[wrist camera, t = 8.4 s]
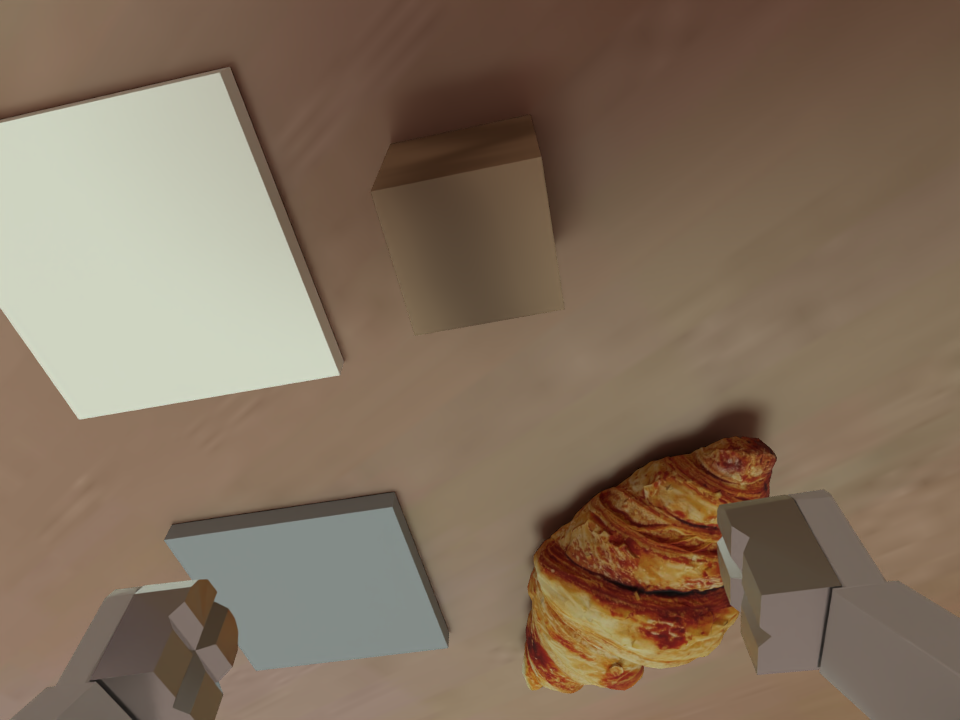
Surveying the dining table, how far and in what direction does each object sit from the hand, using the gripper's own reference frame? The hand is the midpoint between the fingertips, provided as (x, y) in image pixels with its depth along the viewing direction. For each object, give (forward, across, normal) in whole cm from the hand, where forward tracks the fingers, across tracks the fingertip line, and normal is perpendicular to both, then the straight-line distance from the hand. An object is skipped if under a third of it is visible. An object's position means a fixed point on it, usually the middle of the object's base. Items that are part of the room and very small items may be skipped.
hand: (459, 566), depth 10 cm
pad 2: (+17, +13, +20) cm, 29 cm away
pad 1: (+16, +13, 0) cm, 21 cm away
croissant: (+17, -4, +20) cm, 27 cm away
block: (+17, 0, 0) cm, 17 cm away
